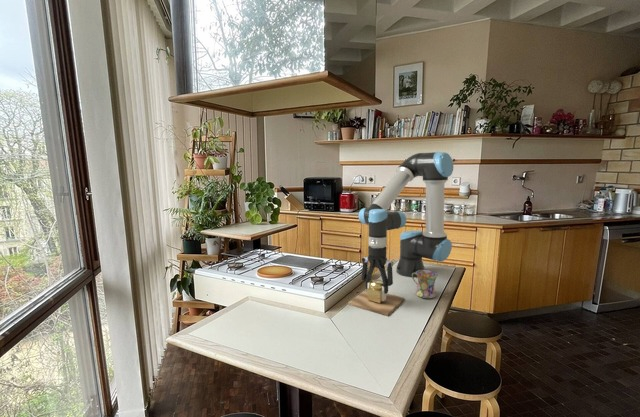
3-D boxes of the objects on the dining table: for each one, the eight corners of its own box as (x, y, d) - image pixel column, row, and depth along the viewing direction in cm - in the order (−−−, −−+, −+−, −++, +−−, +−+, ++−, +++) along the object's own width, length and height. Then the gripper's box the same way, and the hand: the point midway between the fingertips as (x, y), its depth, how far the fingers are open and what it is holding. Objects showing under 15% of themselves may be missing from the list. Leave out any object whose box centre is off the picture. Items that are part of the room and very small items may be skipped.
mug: (440, 296, 138) (441, 273, 137) (429, 302, 132) (430, 278, 131) (417, 288, 147) (417, 267, 146) (405, 293, 141) (406, 271, 140)
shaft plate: (367, 290, 145) (367, 280, 145) (404, 299, 135) (404, 289, 134) (347, 304, 131) (348, 293, 130) (387, 316, 120) (387, 304, 120)
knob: (367, 299, 132) (367, 281, 131) (373, 294, 137) (373, 277, 136) (380, 303, 128) (380, 284, 127) (386, 298, 133) (386, 280, 132)
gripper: (353, 244, 132) (353, 296, 135) (395, 251, 121) (394, 307, 124) (361, 241, 138) (361, 290, 141) (402, 247, 127) (401, 300, 130)
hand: (376, 298), depth 133 cm, fingers closed on knob, 6 cm apart
